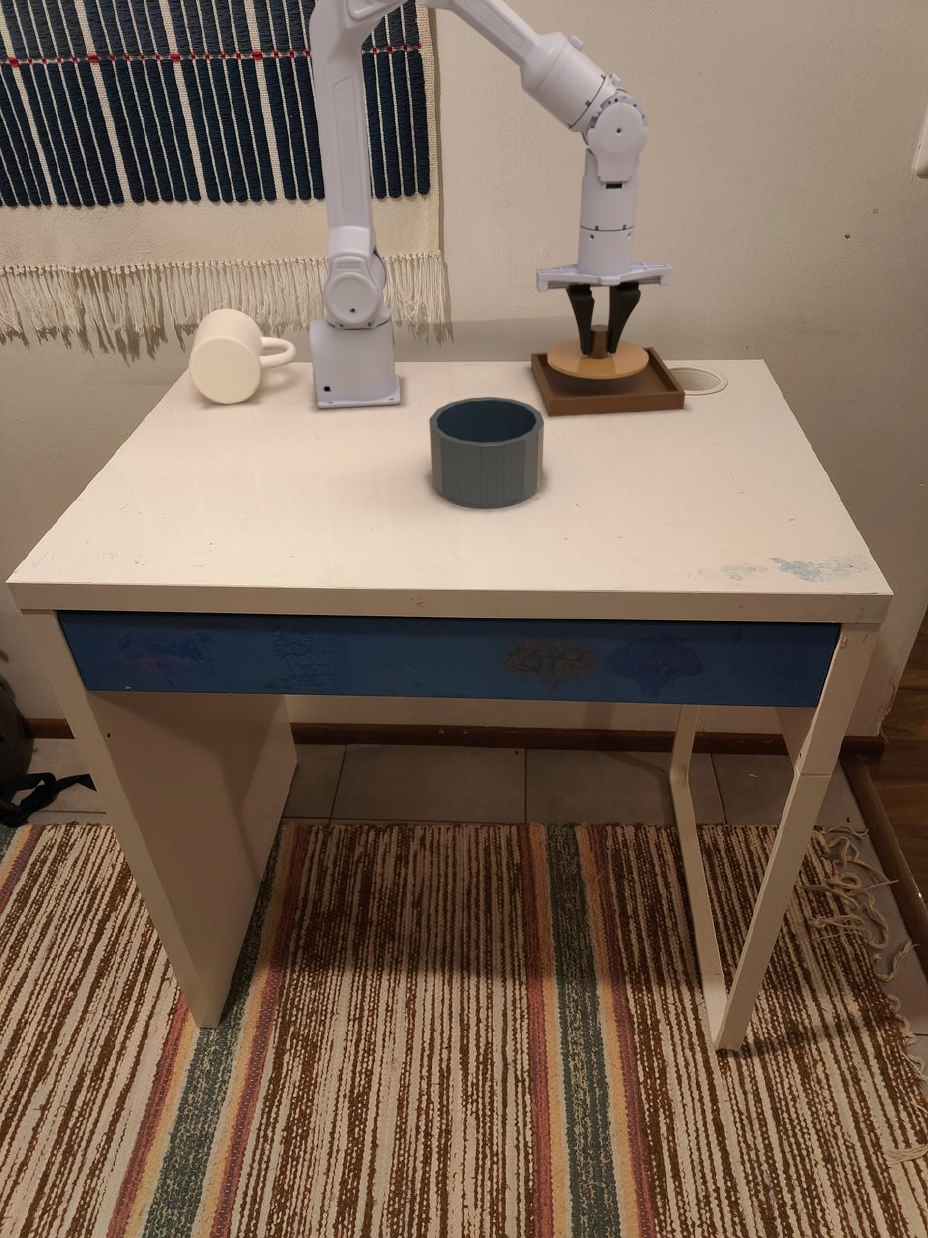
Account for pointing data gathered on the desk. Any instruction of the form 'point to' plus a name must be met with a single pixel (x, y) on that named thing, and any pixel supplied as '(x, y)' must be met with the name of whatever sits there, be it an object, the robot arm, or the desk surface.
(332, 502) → the desk surface
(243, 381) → the mug
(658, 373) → the tray
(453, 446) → the blue gray round pot
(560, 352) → the lid
